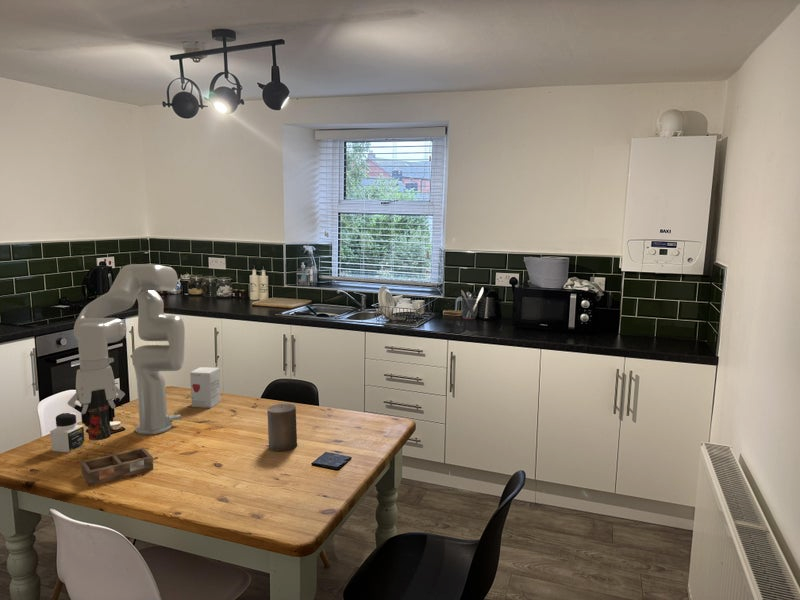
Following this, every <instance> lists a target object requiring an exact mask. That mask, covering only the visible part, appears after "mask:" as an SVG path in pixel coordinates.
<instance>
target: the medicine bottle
mask: <svg viewBox="0 0 800 600" xmlns="http://www.w3.org/2000/svg"><path fill="white" fill-rule="evenodd" d="M77 421H78V419H77V414H76V413H74V412H70V411H69V412H63V413H59V414H57V415H56V416H55V427H56V428H54V429H51V430H50V432H49V433H50V443H51V444H50V445H51V451H52V452H60V453H72V452H74V451H75V450H77V449H79V448H81V447H84V446H85V445H86V442H85V441H86V440H85V432H84V424H83V425H82V424H78V422H77Z"/></svg>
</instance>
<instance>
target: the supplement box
mask: <svg viewBox="0 0 800 600" xmlns="http://www.w3.org/2000/svg"><path fill="white" fill-rule="evenodd" d="M220 370H221V369H220V367H210V366H209V367H206V366H205V367H204V366H200V367H198V368H196V369H194V370H192V371H190V373H189V376H190V396H191V397H190V398H191V407H192V408H205V409H207V408H209V409H212V408H213V407H215V406H217V404H220V402H221V400H222V399H221V375H220V374H221V373H220Z"/></svg>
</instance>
